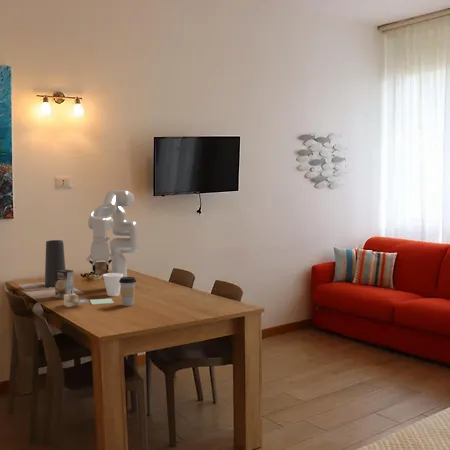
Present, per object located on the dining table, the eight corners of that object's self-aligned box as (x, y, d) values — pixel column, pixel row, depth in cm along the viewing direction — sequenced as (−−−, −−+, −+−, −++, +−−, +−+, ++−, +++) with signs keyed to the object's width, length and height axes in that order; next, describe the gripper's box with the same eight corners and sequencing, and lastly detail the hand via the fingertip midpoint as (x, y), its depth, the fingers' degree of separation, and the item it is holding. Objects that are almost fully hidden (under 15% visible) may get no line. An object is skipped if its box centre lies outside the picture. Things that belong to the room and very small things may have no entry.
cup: (99, 296, 358) (98, 275, 357) (111, 292, 369) (110, 272, 368) (115, 297, 353) (115, 276, 352) (127, 294, 364) (127, 273, 363)
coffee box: (54, 297, 353) (54, 270, 352) (62, 295, 359) (61, 269, 357) (67, 299, 349) (66, 271, 348) (74, 297, 355) (73, 270, 354)
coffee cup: (122, 307, 329) (122, 280, 327) (117, 304, 337) (116, 277, 336) (139, 305, 333) (138, 278, 332) (133, 302, 341) (133, 276, 340)
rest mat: (111, 299, 349) (111, 298, 349) (114, 303, 337) (114, 302, 337) (89, 300, 345) (89, 299, 345) (92, 305, 334) (92, 304, 334)
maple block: (74, 304, 337) (74, 293, 337) (78, 306, 332) (78, 295, 332) (63, 305, 334) (63, 294, 333) (67, 307, 329) (67, 296, 328)
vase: (71, 284, 393) (70, 240, 390) (54, 288, 382) (53, 242, 379) (56, 282, 400) (55, 239, 398) (40, 286, 389) (38, 241, 386)
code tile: (87, 299, 349) (87, 298, 349) (88, 302, 340) (88, 302, 340) (69, 300, 346) (69, 300, 346) (70, 304, 337) (70, 303, 337)
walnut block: (105, 272, 344) (105, 261, 343) (106, 273, 338) (106, 263, 337) (94, 272, 342) (94, 262, 341) (95, 274, 336) (95, 263, 335)
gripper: (114, 238, 344) (115, 270, 346) (83, 239, 339) (84, 271, 341) (116, 240, 337) (117, 272, 339) (84, 241, 332) (85, 273, 334)
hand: (100, 271), depth 340 cm, fingers closed on walnut block, 6 cm apart
